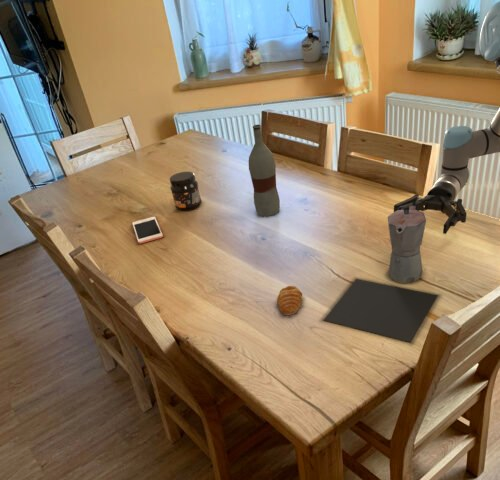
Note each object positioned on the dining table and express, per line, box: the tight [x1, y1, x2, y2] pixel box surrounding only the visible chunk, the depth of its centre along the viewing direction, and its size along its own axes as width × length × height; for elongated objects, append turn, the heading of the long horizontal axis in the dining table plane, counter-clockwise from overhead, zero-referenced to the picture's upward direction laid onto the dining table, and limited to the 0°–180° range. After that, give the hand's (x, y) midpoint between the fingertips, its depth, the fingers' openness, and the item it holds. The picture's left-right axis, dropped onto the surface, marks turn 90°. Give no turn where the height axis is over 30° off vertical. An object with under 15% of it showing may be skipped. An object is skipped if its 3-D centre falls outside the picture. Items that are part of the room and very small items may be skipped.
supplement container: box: [169, 171, 202, 212], centre depth 189 cm, size 10×10×12 cm
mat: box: [323, 278, 439, 344], centre depth 124 cm, size 22×20×1 cm
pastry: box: [276, 285, 303, 316], centre depth 130 cm, size 9×7×4 cm
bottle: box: [248, 124, 281, 218], centre depth 169 cm, size 9×9×30 cm
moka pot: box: [386, 202, 427, 284], centre depth 129 cm, size 10×15×20 cm, turn 155°
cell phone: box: [132, 216, 164, 245], centre depth 180 cm, size 9×18×1 cm, turn 18°
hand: (419, 225), depth 136 cm, fingers open, 13 cm apart
